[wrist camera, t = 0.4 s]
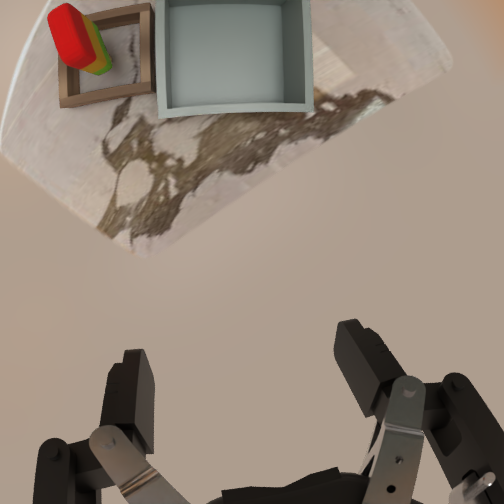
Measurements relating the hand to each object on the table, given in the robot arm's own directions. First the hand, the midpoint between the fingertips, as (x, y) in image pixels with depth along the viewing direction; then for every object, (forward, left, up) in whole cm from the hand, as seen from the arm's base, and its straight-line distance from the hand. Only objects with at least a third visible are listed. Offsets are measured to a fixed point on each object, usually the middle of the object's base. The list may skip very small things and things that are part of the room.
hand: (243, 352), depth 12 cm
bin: (-16, +3, -27) cm, 31 cm away
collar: (-17, -10, -27) cm, 33 cm away
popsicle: (-17, -10, -27) cm, 34 cm away
